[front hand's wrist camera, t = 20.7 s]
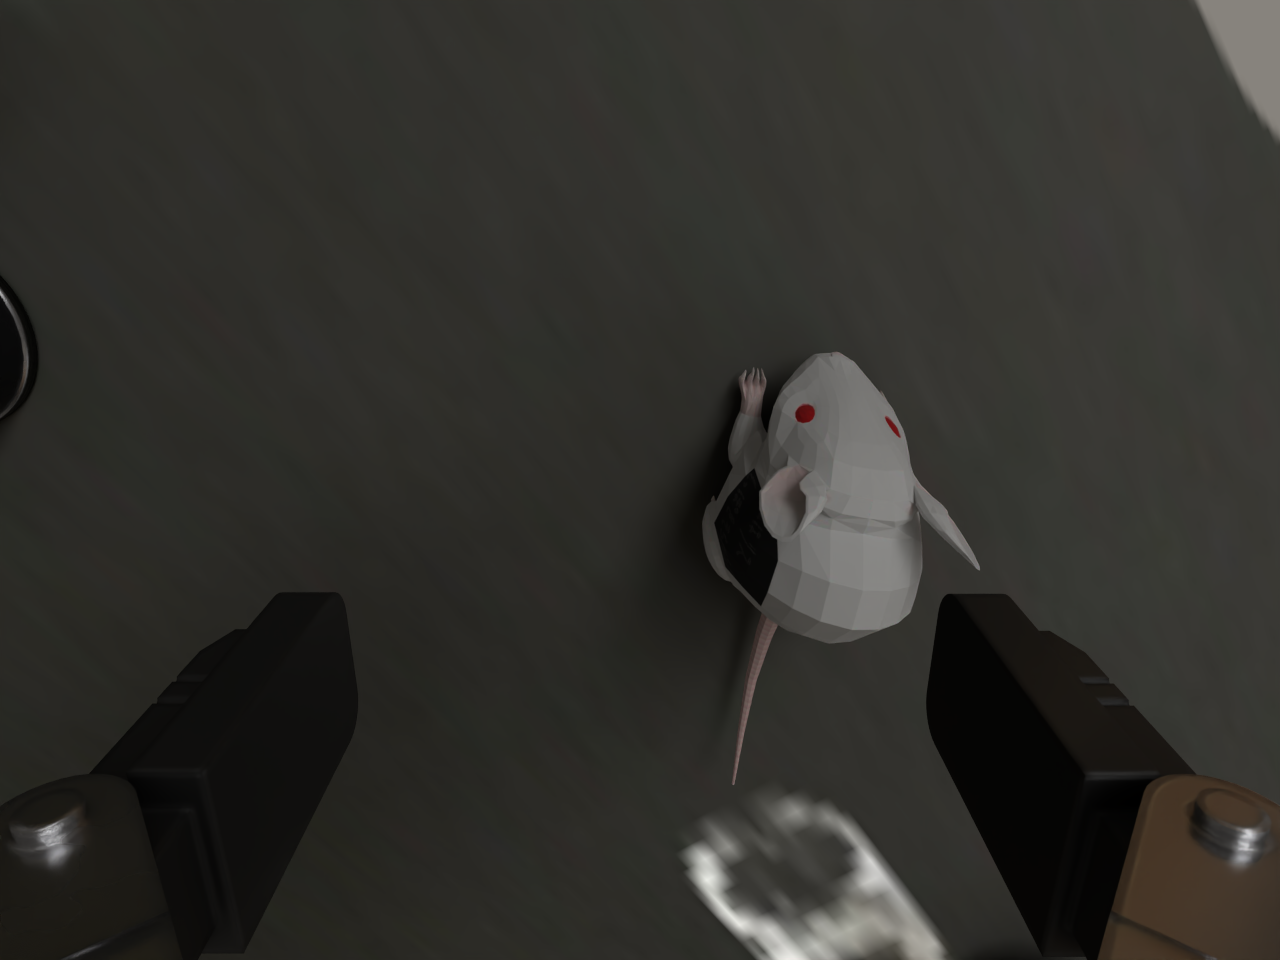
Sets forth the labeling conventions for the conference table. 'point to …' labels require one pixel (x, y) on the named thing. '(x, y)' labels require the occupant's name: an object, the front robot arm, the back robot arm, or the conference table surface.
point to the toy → (821, 511)
